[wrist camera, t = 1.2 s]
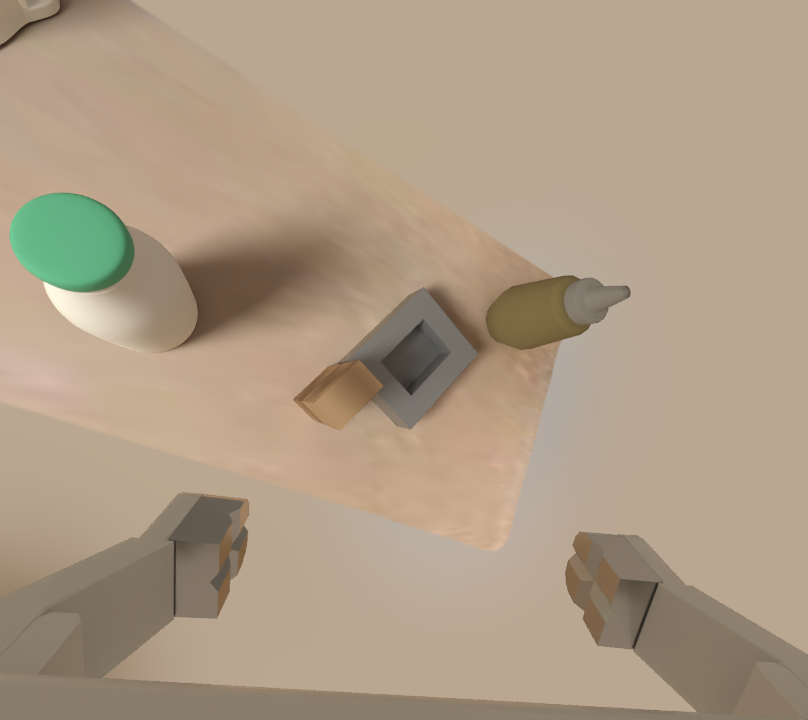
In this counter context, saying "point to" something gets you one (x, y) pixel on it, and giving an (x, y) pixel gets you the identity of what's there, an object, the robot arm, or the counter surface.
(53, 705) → the robot arm
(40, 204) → the milk bottle
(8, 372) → the counter surface
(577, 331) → the squeeze bottle
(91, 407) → the counter surface
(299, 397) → the wooden block
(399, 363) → the grey hollow block
